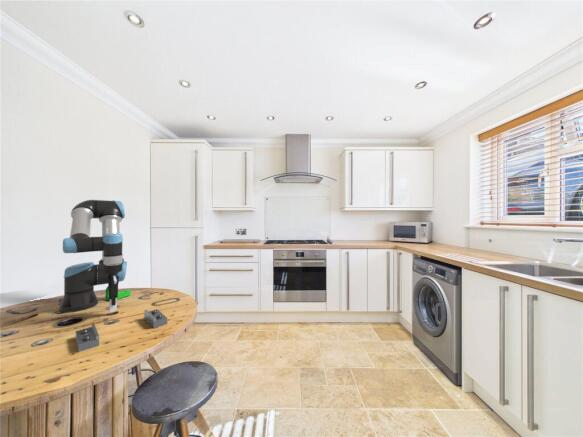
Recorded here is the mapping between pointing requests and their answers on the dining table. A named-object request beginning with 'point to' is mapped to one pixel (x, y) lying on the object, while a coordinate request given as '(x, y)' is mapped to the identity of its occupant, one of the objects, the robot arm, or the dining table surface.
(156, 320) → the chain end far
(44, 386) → the dining table surface
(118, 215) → the robot arm
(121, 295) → the mechanical part
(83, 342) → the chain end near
